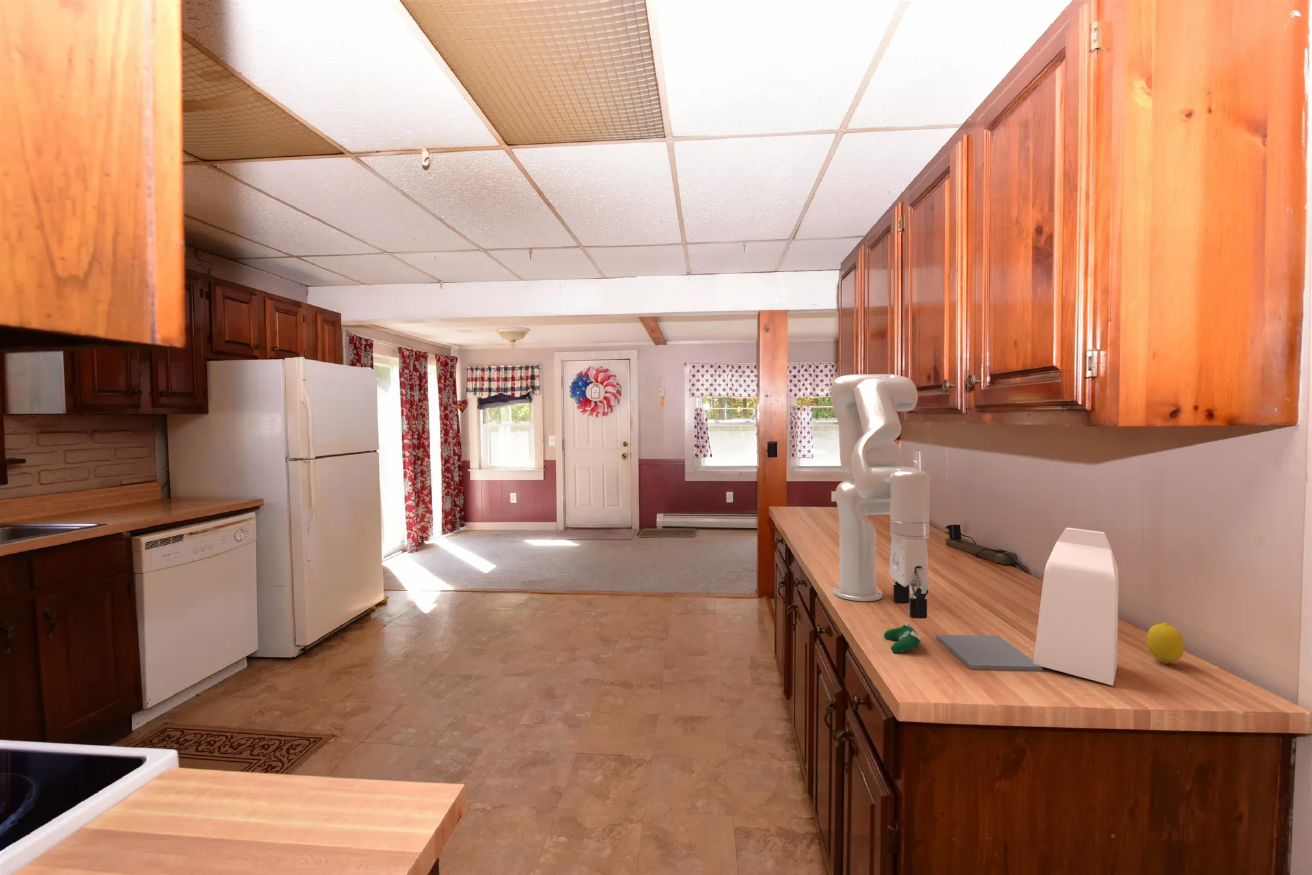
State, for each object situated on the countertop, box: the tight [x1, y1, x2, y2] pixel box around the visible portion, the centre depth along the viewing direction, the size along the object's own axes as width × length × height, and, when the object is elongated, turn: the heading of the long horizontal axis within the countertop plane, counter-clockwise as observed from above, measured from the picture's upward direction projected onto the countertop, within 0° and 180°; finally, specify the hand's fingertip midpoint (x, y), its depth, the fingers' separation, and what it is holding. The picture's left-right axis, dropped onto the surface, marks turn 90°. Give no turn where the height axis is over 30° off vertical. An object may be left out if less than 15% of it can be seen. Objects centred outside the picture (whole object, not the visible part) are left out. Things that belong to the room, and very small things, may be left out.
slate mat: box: [935, 633, 1043, 672], centre depth 117 cm, size 16×13×1 cm
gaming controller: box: [883, 621, 922, 654], centre depth 121 cm, size 9×4×6 cm
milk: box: [1032, 527, 1119, 686], centre depth 109 cm, size 12×12×26 cm
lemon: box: [1145, 622, 1185, 665], centre depth 111 cm, size 6×6×8 cm
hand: (909, 610), depth 120 cm, fingers open, 9 cm apart
